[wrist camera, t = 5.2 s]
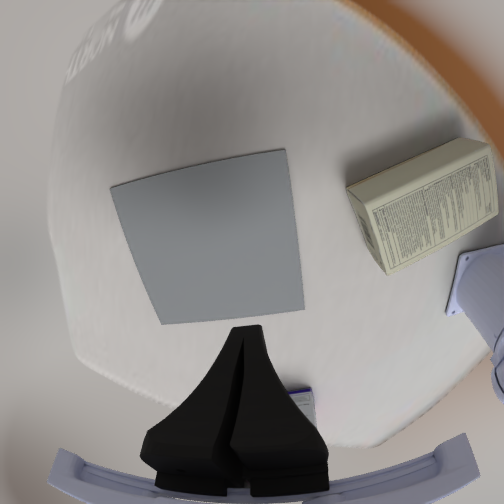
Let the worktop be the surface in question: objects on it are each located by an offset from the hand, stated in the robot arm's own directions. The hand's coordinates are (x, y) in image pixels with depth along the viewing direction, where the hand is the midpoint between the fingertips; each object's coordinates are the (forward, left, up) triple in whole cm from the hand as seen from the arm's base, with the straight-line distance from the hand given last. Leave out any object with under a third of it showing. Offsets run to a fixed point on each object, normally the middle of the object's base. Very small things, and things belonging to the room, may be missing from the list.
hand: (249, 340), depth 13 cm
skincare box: (-8, -1, -8) cm, 12 cm away
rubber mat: (+4, 0, -10) cm, 11 cm away
